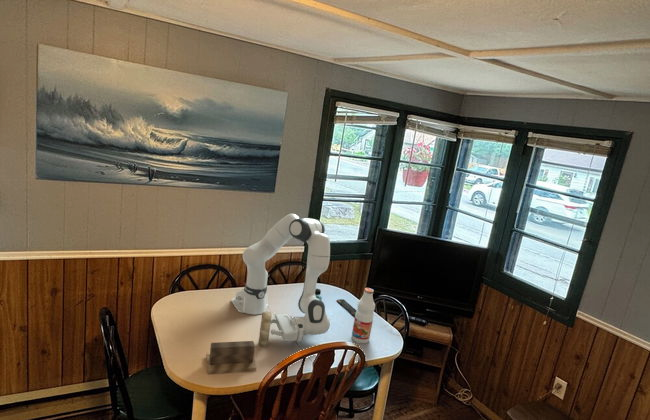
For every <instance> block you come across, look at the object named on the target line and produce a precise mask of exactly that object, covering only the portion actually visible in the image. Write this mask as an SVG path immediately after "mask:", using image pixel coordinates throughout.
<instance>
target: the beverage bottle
mask: <svg viewBox="0 0 650 420" xmlns="http://www.w3.org/2000/svg"><path fill="white" fill-rule="evenodd" d="M321 292H322V291H321V289H320V288H316V290H315V296H316V298H318V299H319V300H321V301H322V300H323V297H322V296H321V294H322V293H321Z"/></svg>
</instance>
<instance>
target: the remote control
mask: <svg viewBox="0 0 650 420" xmlns="http://www.w3.org/2000/svg"><path fill="white" fill-rule="evenodd" d="M336 302H337V303H338V304H339V305H340V306H341V307H342V308H343V309H344V310H346V311H347V312H348V313H349V314H350V315H351V317H352V316H353V318H355V314H356V311H357V310H356V308H355V307H353V306H352V305H351V304H350V303H348V301H346V300H345V299H342V298H341V299H336Z"/></svg>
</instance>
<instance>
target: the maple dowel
mask: <svg viewBox="0 0 650 420" xmlns="http://www.w3.org/2000/svg"><path fill="white" fill-rule="evenodd" d="M272 315H273V314H272V312H271V311H267V310H266V311H265V312H263V313H262V314H261V321H260V328H259V333H258V334H259V336H258V342H257V343H258V346H260V347H261V348H265V347H268V346H269V345H268V344H269V337H270V332H271V331H270V329H271V325H272V323H271V319H272Z"/></svg>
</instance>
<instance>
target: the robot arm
mask: <svg viewBox="0 0 650 420" xmlns="http://www.w3.org/2000/svg"><path fill="white" fill-rule="evenodd" d="M325 231H326V229H325V225H324V223H323V222H322V220H320V219H316V218H312V217H304V218H303V217H300V216H299V215H297V214H295V213H289V214H287V215H285V216H283V217H282V218H281V219H280V220H278V221H277V222H276V223H275V224H274V225H273V226H272V227H271V228H269V230H268V231H267V232H266V233H265V235H264V237H263V238H262V239H261V240H260V241H258V242H256V243H254V244H251V245H249V246H248V247H246V249H245V250H243V252H242V261H243V262H244V264H245V265H246V268H247V269H246V270H247V275H246V282H243V286H244V287H243V288H242V289H240V290H238V291H237V292H236V295H235V297H233V298H231V300H230V301H231V303H232V305H233V306H234V308H236V310H237V311H238V313H241V314H247V315H262V313H263V312H265V311H267V309H268V307H269V303H268V293H267V291H268V278H269V277H268V276H269V273H268V270H266V262H267V261H268V260H270V259H272V258H273V257H274V256H275V255H276V254H277V253H278V252H279V250H280V249H281V248H282V247H283V246H284V245H286V244H287V242H289V241H290V240H291V239H292V238H294V239H296V240H299V241H300V242H302V243H307V245H308V246H307V247H308V250H307V258H306V259H307V260H306V269H305V277H304V281H303V288H302V289H303V290H302V293H301V295H300V297H299V299H298V303H297V306H298V309H299V310H300V312H301V313H302V314H304V316H294V317H293V316H292V315H290V314H287V313H276V314H274V317H273V318H271V324H275V325H276V327H277V328H278V330H276V329H271V331H270V334H271V335H272V336H273V335H276V336H278V337H281V338H282V340H283V341H285V342H295V341H297V342H301V341H303V336H306V335H310V336H314V335H315V336H316V335H322V334H326V333H327V332H328V331H329V330H330V325H331V323H330V318H329V316H328V314H327V312H326V305H325V303H324V302H323V301H322V300H319V299H318V298H316V296H315V290H316V289H317V282H318V278H319V277H320V275H321V274H323V273H325V272H326V271H327V270H328V267H329V264H330V260H331V259H330V258H331V243H330V242H331V241H330V238H329V235H327V234H325Z"/></svg>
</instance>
